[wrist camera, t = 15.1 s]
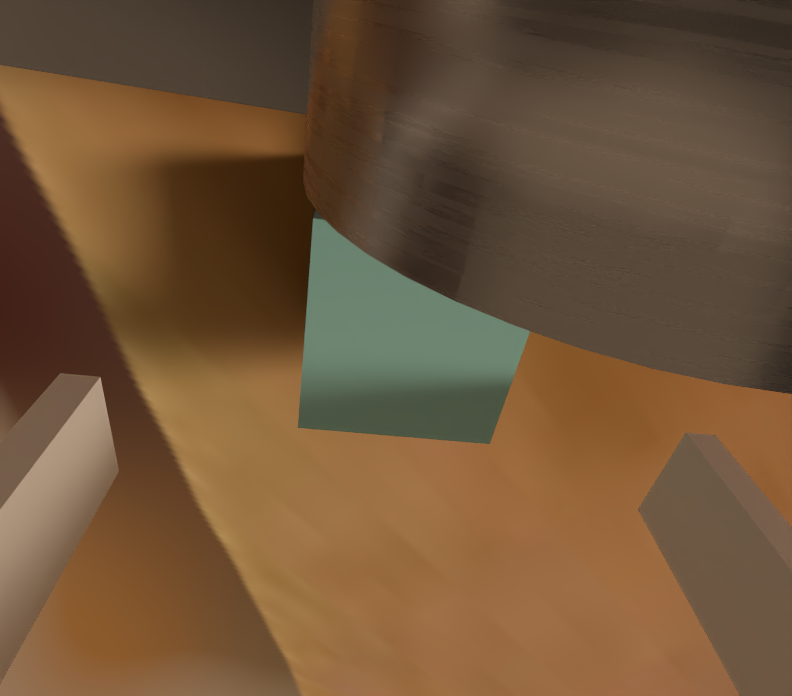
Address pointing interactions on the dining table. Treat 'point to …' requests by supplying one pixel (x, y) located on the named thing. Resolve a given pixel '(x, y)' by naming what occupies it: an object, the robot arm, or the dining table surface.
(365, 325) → the mallet
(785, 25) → the housing
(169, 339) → the dining table surface
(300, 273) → the dining table surface
